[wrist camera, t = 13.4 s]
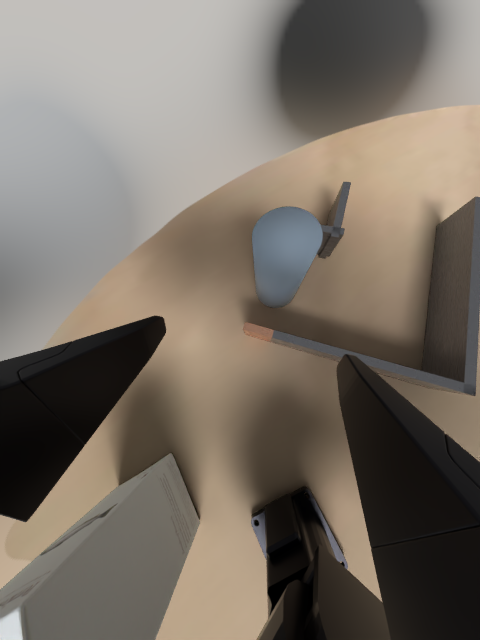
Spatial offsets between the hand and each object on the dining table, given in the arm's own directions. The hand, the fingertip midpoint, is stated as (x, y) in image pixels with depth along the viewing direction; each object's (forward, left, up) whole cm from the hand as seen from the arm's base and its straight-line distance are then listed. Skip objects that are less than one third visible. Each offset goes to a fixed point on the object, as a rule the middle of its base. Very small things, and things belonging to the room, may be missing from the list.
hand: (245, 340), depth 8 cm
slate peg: (+6, -6, -13) cm, 15 cm away
